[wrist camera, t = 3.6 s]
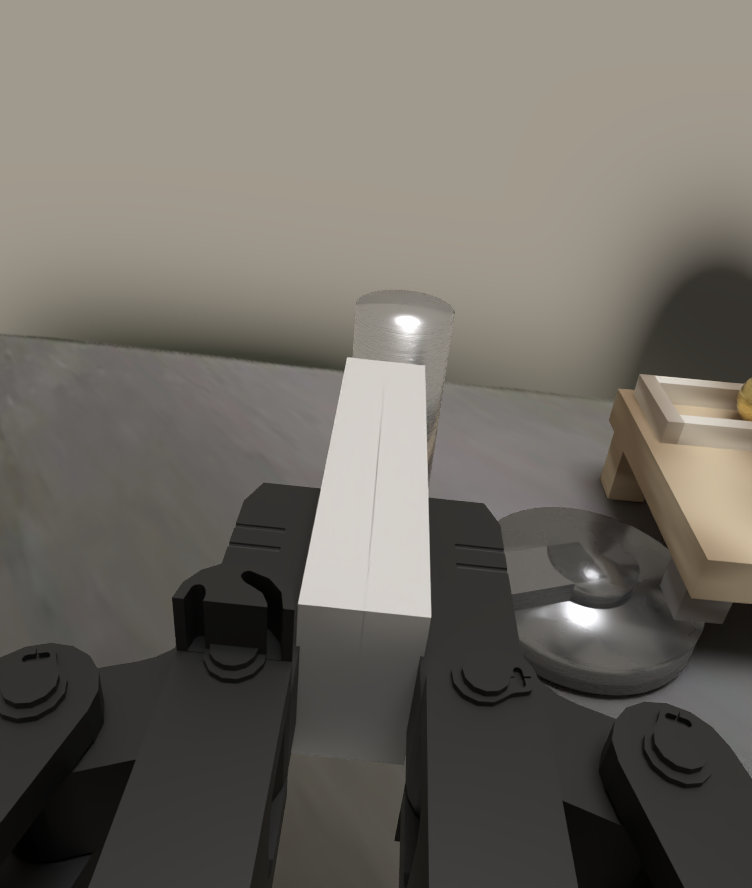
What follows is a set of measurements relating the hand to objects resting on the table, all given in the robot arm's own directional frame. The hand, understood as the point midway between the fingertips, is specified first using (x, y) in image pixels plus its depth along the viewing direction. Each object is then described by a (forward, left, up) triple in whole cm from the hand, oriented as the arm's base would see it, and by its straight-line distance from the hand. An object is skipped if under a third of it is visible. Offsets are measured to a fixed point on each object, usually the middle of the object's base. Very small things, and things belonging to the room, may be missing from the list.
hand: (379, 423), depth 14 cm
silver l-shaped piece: (-7, -10, -15) cm, 20 cm away
